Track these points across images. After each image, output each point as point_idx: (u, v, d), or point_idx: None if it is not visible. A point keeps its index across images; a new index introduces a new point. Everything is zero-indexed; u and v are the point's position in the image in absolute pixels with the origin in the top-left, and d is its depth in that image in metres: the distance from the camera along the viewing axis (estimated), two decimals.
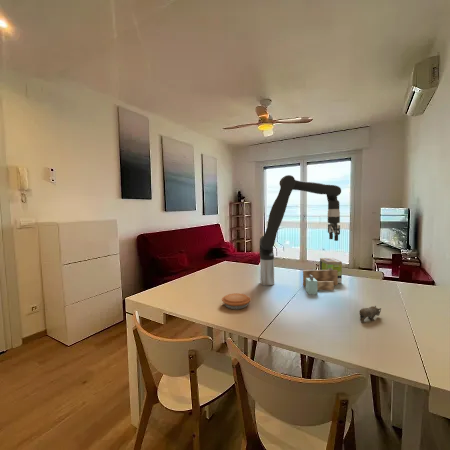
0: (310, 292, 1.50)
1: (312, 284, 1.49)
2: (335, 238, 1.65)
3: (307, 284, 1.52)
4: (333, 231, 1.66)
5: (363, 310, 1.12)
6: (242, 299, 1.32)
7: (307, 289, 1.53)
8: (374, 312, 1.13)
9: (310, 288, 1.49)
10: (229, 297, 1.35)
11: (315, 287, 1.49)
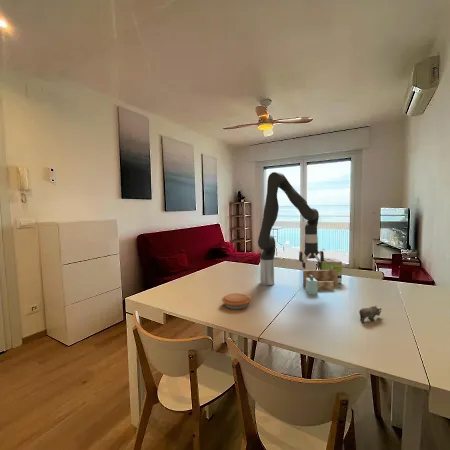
0: (310, 292, 1.50)
1: (312, 284, 1.49)
2: (319, 265, 1.51)
3: (307, 284, 1.52)
4: (318, 258, 1.50)
5: (363, 310, 1.11)
6: (242, 299, 1.32)
7: (307, 289, 1.53)
8: (374, 312, 1.12)
9: (310, 288, 1.49)
10: (229, 297, 1.35)
11: (315, 287, 1.49)
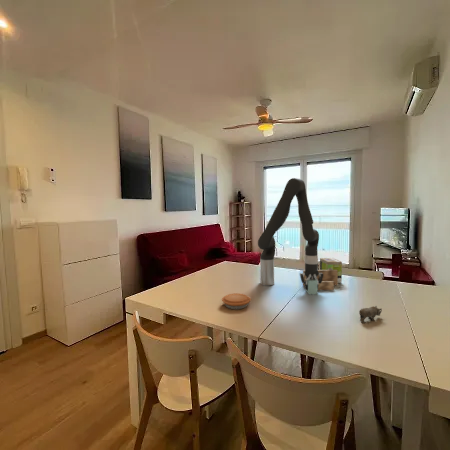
0: (310, 292, 1.50)
1: (313, 284, 1.49)
2: (317, 287, 1.52)
3: None
4: None
5: (363, 310, 1.11)
6: (242, 299, 1.32)
7: None
8: (374, 312, 1.12)
9: (310, 288, 1.49)
10: (229, 297, 1.35)
11: (315, 287, 1.49)
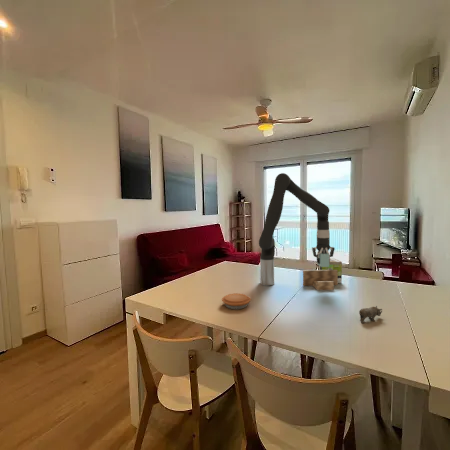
0: (322, 265, 1.56)
1: (324, 257, 1.56)
2: None
3: None
4: (328, 253, 1.57)
5: (363, 310, 1.11)
6: (242, 299, 1.32)
7: None
8: (374, 312, 1.12)
9: (322, 261, 1.56)
10: (229, 297, 1.35)
11: (327, 260, 1.56)
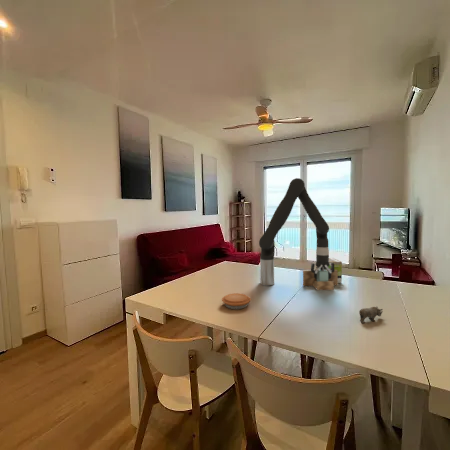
0: None
1: (324, 275, 1.58)
2: (330, 276, 1.61)
3: (318, 275, 1.61)
4: (329, 269, 1.60)
5: (363, 310, 1.11)
6: (242, 299, 1.32)
7: (318, 279, 1.61)
8: (375, 312, 1.12)
9: (321, 278, 1.58)
10: (229, 297, 1.35)
11: (326, 277, 1.58)
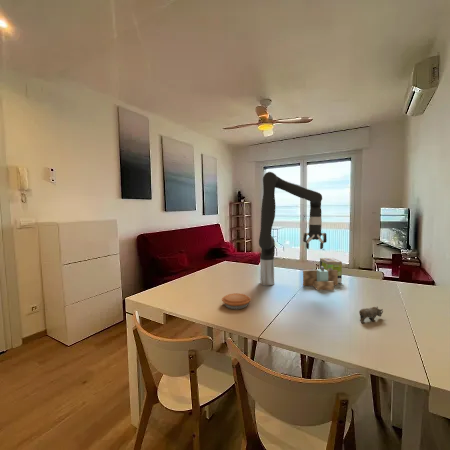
0: None
1: (324, 275, 1.58)
2: (322, 246, 1.61)
3: (318, 275, 1.61)
4: (321, 239, 1.60)
5: (363, 311, 1.11)
6: (242, 299, 1.32)
7: (318, 279, 1.61)
8: (375, 313, 1.12)
9: (321, 278, 1.58)
10: (229, 297, 1.35)
11: (326, 277, 1.58)
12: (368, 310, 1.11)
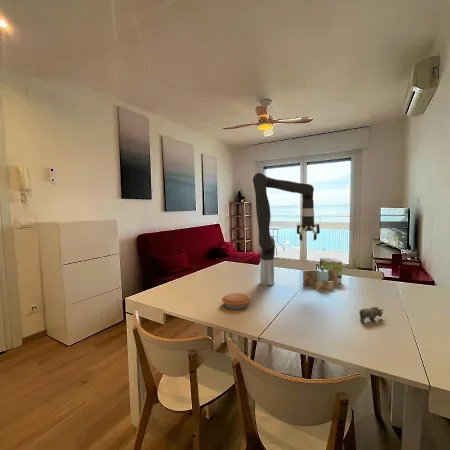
0: None
1: (324, 275, 1.58)
2: (315, 237, 1.63)
3: (318, 275, 1.61)
4: (314, 231, 1.62)
5: (363, 311, 1.11)
6: (242, 299, 1.32)
7: (318, 279, 1.61)
8: (375, 313, 1.12)
9: (321, 278, 1.58)
10: (229, 297, 1.35)
11: (326, 277, 1.58)
12: (368, 310, 1.11)
